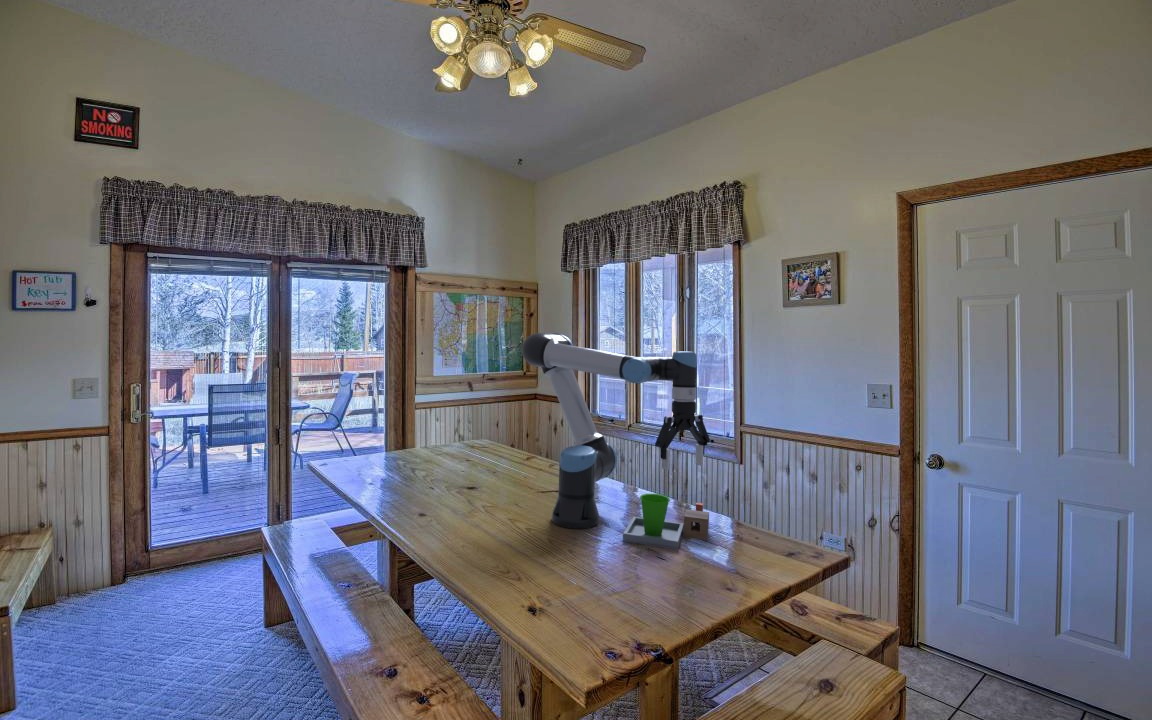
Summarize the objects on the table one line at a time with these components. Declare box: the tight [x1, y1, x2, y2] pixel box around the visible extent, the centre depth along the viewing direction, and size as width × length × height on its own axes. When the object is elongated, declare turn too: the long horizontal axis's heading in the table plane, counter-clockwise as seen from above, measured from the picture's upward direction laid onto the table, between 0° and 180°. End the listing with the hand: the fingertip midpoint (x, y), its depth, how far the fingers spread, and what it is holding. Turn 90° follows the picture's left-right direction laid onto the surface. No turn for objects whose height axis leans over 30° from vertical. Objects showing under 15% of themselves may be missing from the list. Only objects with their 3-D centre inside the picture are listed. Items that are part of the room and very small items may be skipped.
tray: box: [622, 516, 684, 550], centre depth 165 cm, size 16×16×2 cm
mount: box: [682, 508, 710, 541], centre depth 167 cm, size 7×7×6 cm
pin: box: [693, 502, 704, 524], centre depth 174 cm, size 10×2×5 cm, turn 163°
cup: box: [639, 493, 671, 537], centre depth 165 cm, size 9×9×11 cm
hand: (682, 467), depth 172 cm, fingers open, 13 cm apart
